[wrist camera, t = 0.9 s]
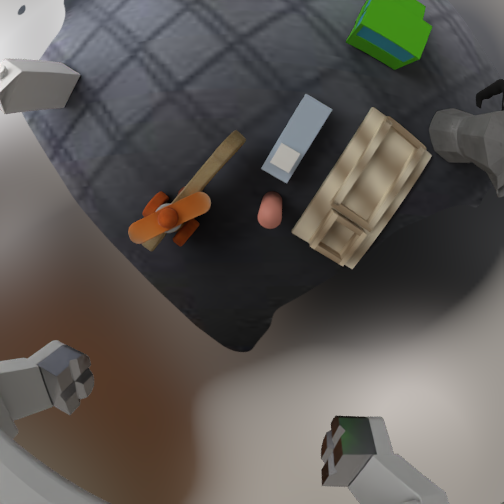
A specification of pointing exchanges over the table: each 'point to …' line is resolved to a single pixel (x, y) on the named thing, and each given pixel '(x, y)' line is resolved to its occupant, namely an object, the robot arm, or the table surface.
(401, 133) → the jig
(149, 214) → the toy helicopter
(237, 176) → the table surface
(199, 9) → the table surface
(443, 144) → the coffeepot
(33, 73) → the milk carton
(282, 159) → the blue slab with cube
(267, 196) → the tail peg
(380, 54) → the toy car
